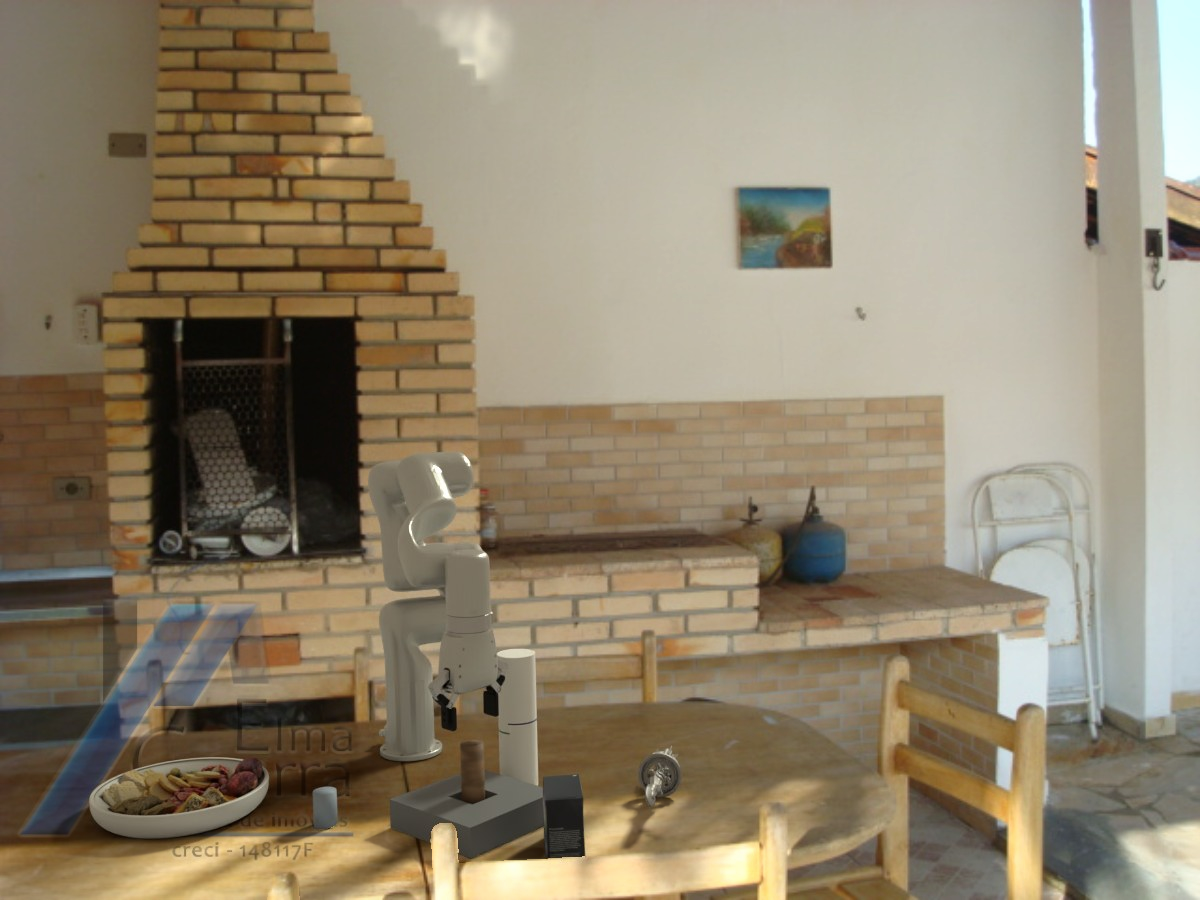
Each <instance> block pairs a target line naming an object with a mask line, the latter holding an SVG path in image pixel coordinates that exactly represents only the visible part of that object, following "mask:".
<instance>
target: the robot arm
mask: <svg viewBox="0 0 1200 900" xmlns="http://www.w3.org/2000/svg"><path fill="white" fill-rule="evenodd" d="M474 475H475V474H474V469H473V465H472V463H471V461H470V459H469V458H468V457H467V456H466V455H465V454H464V453H463V452H459V451H438V452H437V451H436V452H418V453H413V454H409V455H407V456H405V457H404V458H403V459H400V460H399V459H398V460H396V459H395V460H389V461H383V462H380V463H377V464H375V465H374V466H372V467H371V469H370V470H369V473H368V478H367V488H368V493H369V498H370V502H371V504H372V505H371V506H372V507H373V509H374V512H375V514H376V516H377V520H378V523H379V529H380V530H379V531H380V542H381V543H380V544H381V559H382V572H383V579H384V584H385V586H386V588H388V589H389V590H390V591H392V592H396V593H397V592H398V593H405V592H407V593H408V592H419V591H420V592H421V591H429V590H431V591H432V590H436V591H438V594H439V595H431V596H419V597H418V596H417V597H409V598H400V599H396V600H392V601H389V602H388V603H386V604H385V605H383V607H382V608H381V609H380V611H379V615H378V625H379V626H378V627H379V631H380V632H379V633H380V637H381V642H382V649H383V656H384V657H383V658H384V672H385V673H384V675H385V676H384V677H385V679H384V680H385V704H386V708H385V709H386V710H385V711H386V724H385V725H384V726H383V728H380V729H379V732H378V735H379V736H380V737H383V738H384V743H383V744H382V745H381V746H380V747H379V754H380V756H381V757H382V758H384V759H387V761H388V760H390V761H395V762H416V761H422V760H426V759H430V758H433V757H436V756H437V755H439V754H440V753H442V751H443V743H442V742H441V741H440V740H438V739H436V738H435V711H434V705H435V703H434V701H435V702H436V703H437V705H438V706H439V707H440V718H441V719H440V721H441V722H440V723H441V725H440V726H441V728H442V729H443V730H448V731H450V732H455V731H457V729H458V723H457V722H458V721H457V720H458V719H457V718H458V717H457V713H458V712H457V707H455V706H454V705H455V703H456V702H457V700H458V698H459V696H460V695H464V694H467V693H470V692H474V691H477V690H480V689H483V688H484V689H485V690H483V692H482V698H483V700H482V701H483V703H482V704H483V710H482V711H483V714H485V715H487V716H491V717H494V718H496V717H498V716H499V698H498V693H500V692H501V686H502V684H503V683H504V681H505V675H506V672H507V669H508V664H507V663H504V662H502V661H499V660H497V653H498V652H497V645H496V638H495V633H494V629H493V628H492V625H491V624H492V620H491V619H493V618H494V613H493V611H492V610H491V577H490V576H491V573H490V572H491V571H490V570H491V569H490V568H491V567H490V566H491V565H490V557H489V554H488V553H487V552H485V551H484V550H483V549H482V547H481V546H480V545H479V544H478V543H477V542H476V543H475V542H472V541H471V542H470V541H464V542H463V541H461V542H453V543H451V542H450V543H449V542H430V543H425V541H424V540H426V539H427V538H430V537H432V536H433V535H435V534H437V533H439V532H441V531H443V530H444V529H446V528H447V527H448V526H449V525H450V524H451V523H452V522H453V521H454V520H455V517H456V515H457V510H458V509H457V503H456V501H455V499H456V498H460V497H463V496H466V495H467V494H468V493H469V492H470V491H471V490H472V487H473V486H474V485H473V484H474V479H475V478H474V477H475V476H474ZM437 643H440V647H439V652H438V653H439V654H438V655H439V656H438V667H437V668H438V669H437V671H438V673H437V676H436V677H435V678H434V676H433V675H434V674H433V666H432V663H431V661H430V660H431V659H429V658H428V656H427V655H425V653H424V652H422V650H421V649H420V646H424V645H427V644H428V645H429V644H437ZM433 678H434V679H433Z"/></svg>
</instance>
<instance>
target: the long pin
mask: <svg viewBox="0 0 1200 900" xmlns="http://www.w3.org/2000/svg"><path fill="white" fill-rule="evenodd" d="M459 745H460V746H459V751H460V752H459V754H460V773H461V792H462V801H463V802H466V803H469V804H472V805H473V804H475V803H478V802H480V801H483V800H485V770H486V769H485V743H484V741H482V740H478V739H468V740H464V741H462V742H460V744H459Z"/></svg>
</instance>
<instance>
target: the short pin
mask: <svg viewBox="0 0 1200 900" xmlns="http://www.w3.org/2000/svg"><path fill="white" fill-rule="evenodd" d="M312 810H313V811H312V812H313V828H314V829H316V830H319V829H326V830H329V829H328V828H331V827H333V826H335V825H336V824H337V822H339V821H338V793H337V788H336V787H333V786H322V787H318V788H315V789H313V791H312ZM331 829H332V828H331Z"/></svg>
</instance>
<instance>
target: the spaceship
mask: <svg viewBox="0 0 1200 900" xmlns="http://www.w3.org/2000/svg"><path fill="white" fill-rule="evenodd" d="M672 747H673V746H672V745H671V747H670V748H665V749H664V750H662V751H659V748H656V749H655V751H654V752H653V753H651V754H649V755H647V756H646V757H645V758H643V760H642V761H641V763H640V764H639V766H638V772H637V777H638V781H639V784H640V786H641V788H642V789H643V791H644V800H645V801H646V803H647V805H648V806H649V807H653V806H654V805H655V802H656V798H666V797H669V796H671V795H673V794H674V793H675V792H676V791H677V790H678V789H679V787H680V785H681V783H682V775H683V774H682V770H681V769H682V768H683V764H682V765H680V764H679V762H678V760H677V759H676V758H677V757H678V756H679V753H675V754H674V753H673V750H672ZM653 766H654V767H655V770H654V769H652V768H651V767H653ZM649 773H650V776H649ZM670 776H671V777H670ZM665 783H666V784H667V785H665ZM655 796H656V797H655Z"/></svg>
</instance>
